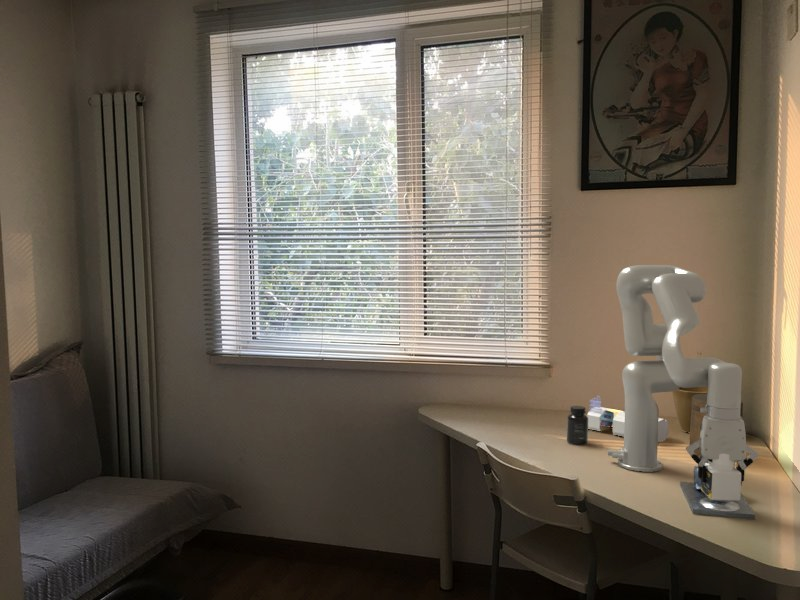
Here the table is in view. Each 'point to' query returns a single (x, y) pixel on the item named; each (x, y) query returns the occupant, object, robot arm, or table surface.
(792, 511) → the table surface
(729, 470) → the medicine bottle
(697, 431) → the wooden container
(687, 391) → the plant pot
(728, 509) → the motor base
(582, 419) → the supplement bottle
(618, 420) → the diorama
